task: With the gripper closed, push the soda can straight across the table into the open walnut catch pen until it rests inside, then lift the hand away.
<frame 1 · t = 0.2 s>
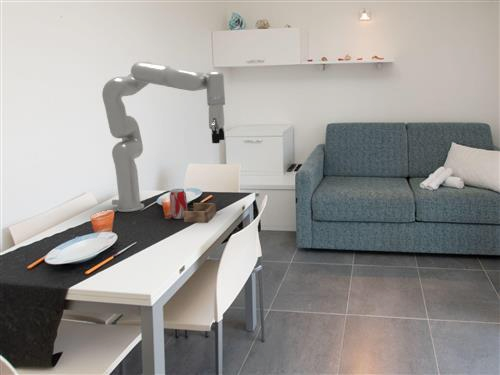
hand: (218, 141, 219), 31 cm above the table, tool pointing down, fingers open, 9 cm apart
soda can: (179, 217, 218), on the table
catch pen: (200, 217, 216), on the table
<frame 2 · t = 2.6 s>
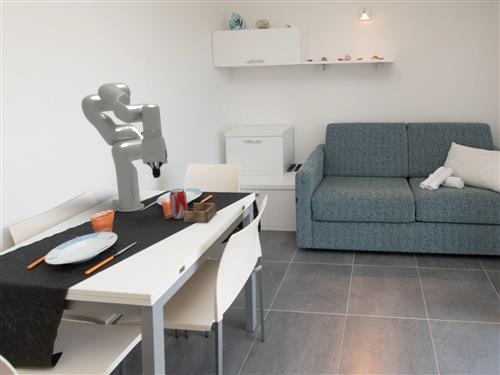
hand: (156, 177, 216), 18 cm above the table, tool pointing down, fingers closed
nothing on the table moved.
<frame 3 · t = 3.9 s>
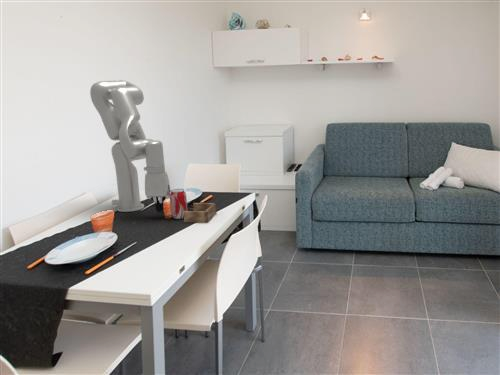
hand: (160, 211, 219), 3 cm above the table, tool pointing down, fingers closed
nothing on the table moved.
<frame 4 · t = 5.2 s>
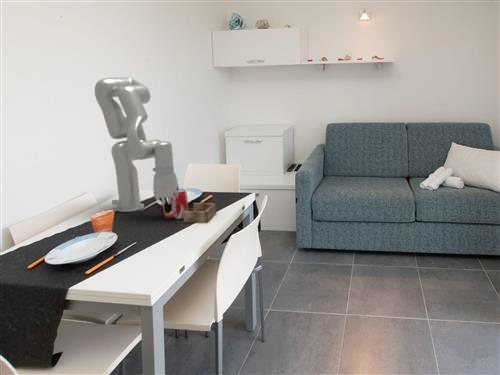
hand: (168, 212, 218), 2 cm above the table, tool pointing down, fingers closed
soda can: (180, 217, 218), on the table, touching gripper
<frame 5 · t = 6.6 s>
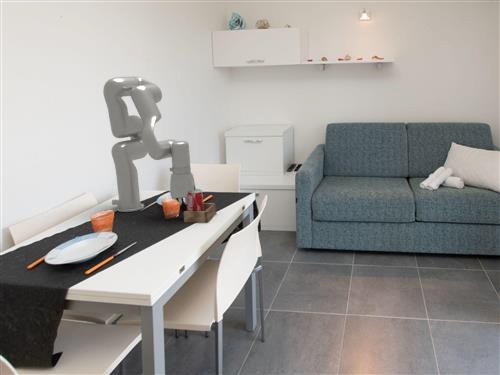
hand: (185, 212, 217), 2 cm above the table, tool pointing down, fingers closed
soda can: (195, 218, 215), on the table
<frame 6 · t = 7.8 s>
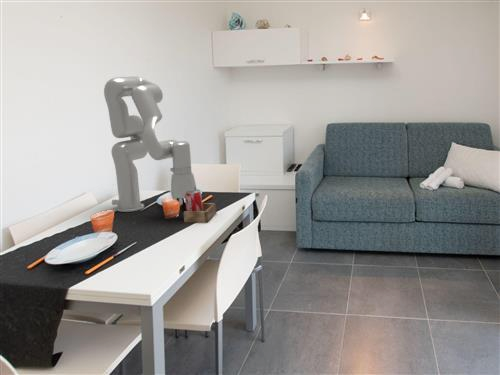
hand: (185, 212, 217), 2 cm above the table, tool pointing down, fingers closed
nothing on the table moved.
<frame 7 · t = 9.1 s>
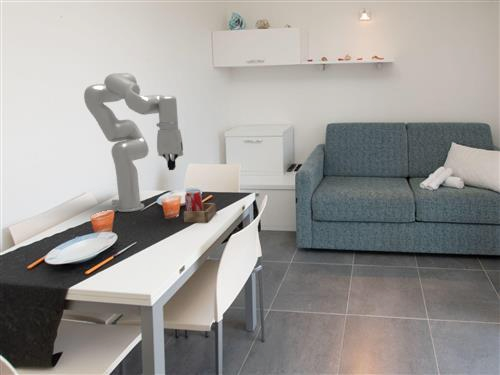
hand: (171, 169, 214), 21 cm above the table, tool pointing down, fingers closed
nothing on the table moved.
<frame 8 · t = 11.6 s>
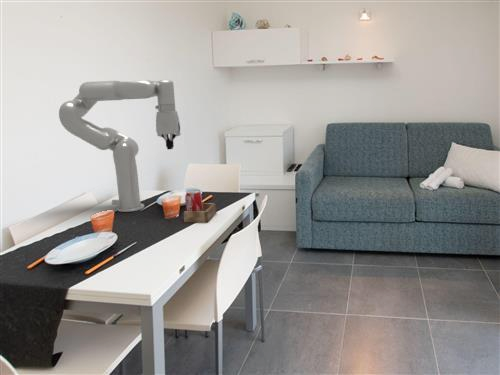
hand: (170, 148, 230), 27 cm above the table, tool pointing down, fingers closed
nothing on the table moved.
at the end: soda can inside the target area (2.7 cm from its centre), on the table; soda can moved 7.8 cm from its start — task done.
